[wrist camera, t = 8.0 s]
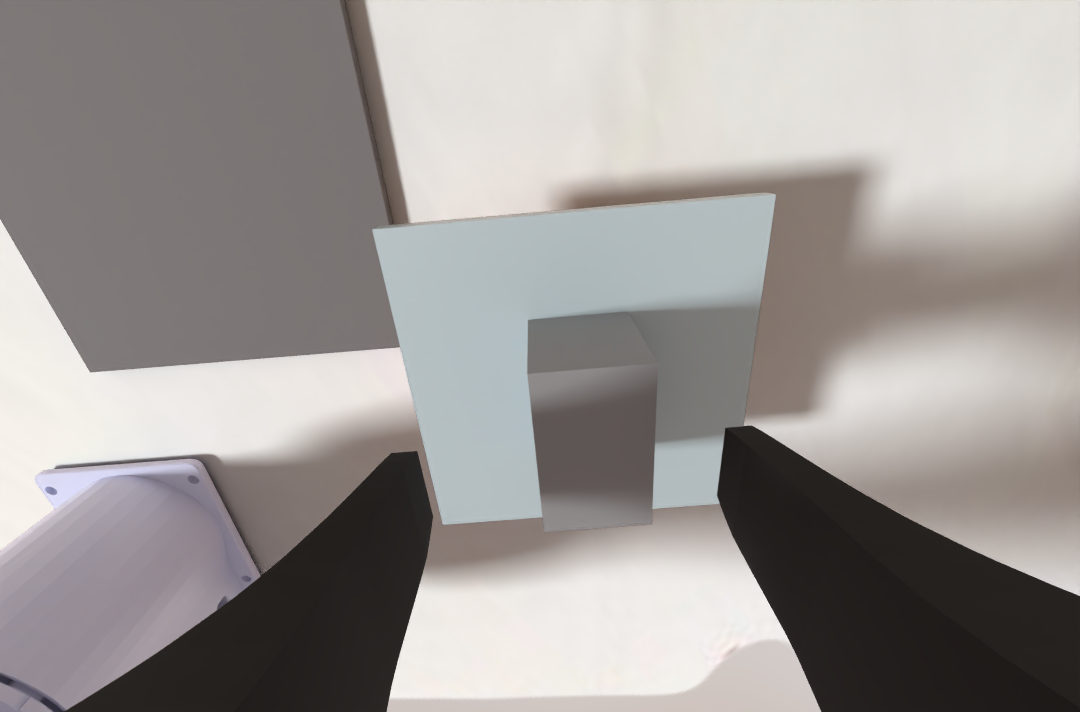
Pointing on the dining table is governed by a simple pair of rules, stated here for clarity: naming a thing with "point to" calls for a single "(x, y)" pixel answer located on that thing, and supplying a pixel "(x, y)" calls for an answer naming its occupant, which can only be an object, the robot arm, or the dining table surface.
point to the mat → (193, 178)
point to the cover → (579, 354)
